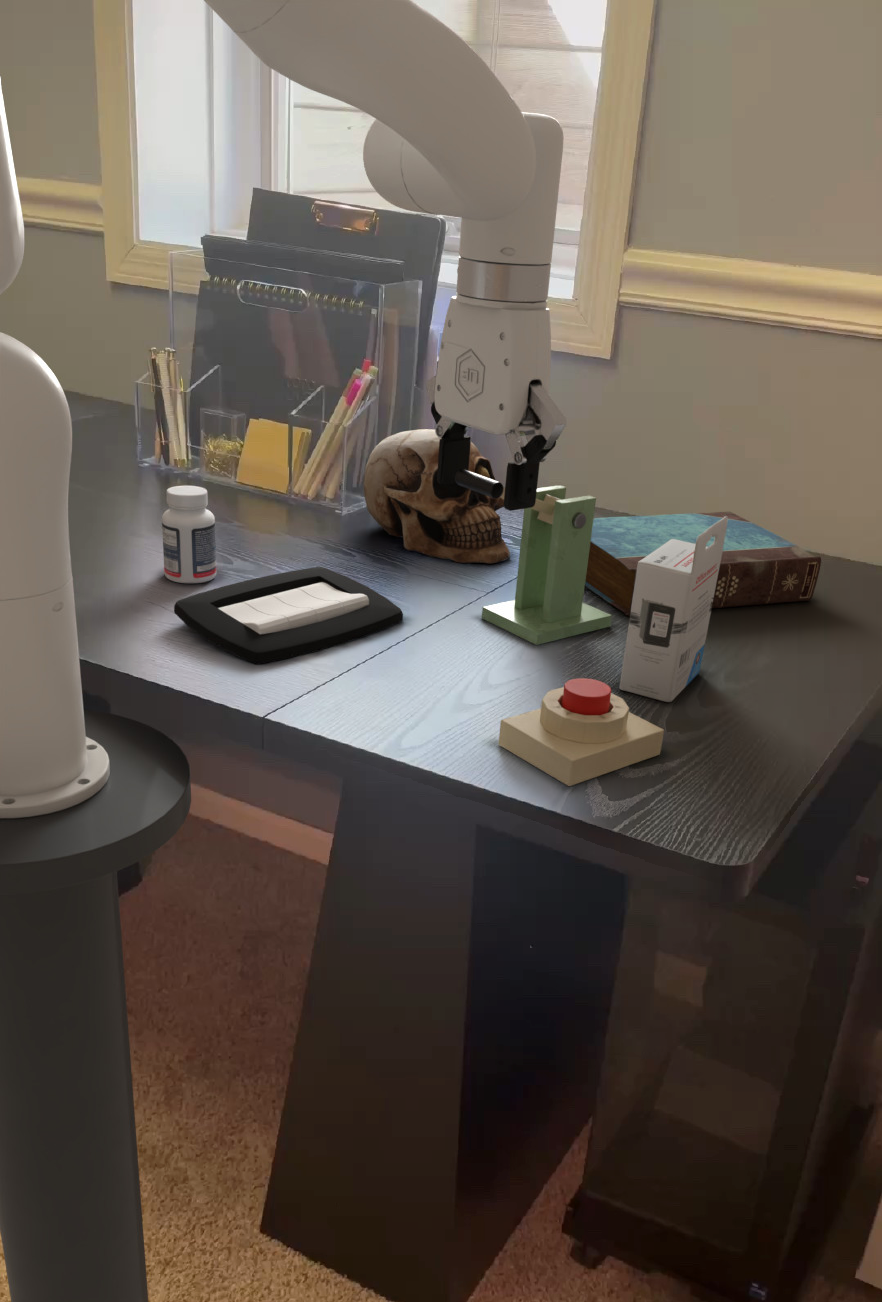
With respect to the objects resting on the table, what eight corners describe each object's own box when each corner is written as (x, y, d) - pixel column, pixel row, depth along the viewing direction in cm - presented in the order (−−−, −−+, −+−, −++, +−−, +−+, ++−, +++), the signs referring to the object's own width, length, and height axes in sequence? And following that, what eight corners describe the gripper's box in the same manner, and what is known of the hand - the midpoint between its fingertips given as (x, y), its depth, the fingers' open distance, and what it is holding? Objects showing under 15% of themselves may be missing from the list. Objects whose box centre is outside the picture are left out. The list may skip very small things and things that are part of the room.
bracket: (536, 645, 112) (551, 511, 106) (481, 618, 118) (492, 489, 112) (610, 626, 118) (628, 498, 112) (554, 601, 123) (569, 478, 117)
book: (628, 617, 121) (636, 570, 118) (551, 562, 135) (556, 519, 132) (812, 602, 129) (822, 557, 126) (721, 551, 143) (728, 510, 141)
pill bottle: (219, 569, 125) (217, 484, 121) (213, 585, 121) (211, 498, 117) (167, 566, 125) (164, 482, 121) (160, 583, 120) (156, 496, 116)
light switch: (255, 650, 102) (159, 590, 109) (253, 680, 103) (159, 619, 111) (418, 603, 115) (323, 552, 122) (414, 630, 116) (320, 578, 124)
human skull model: (508, 565, 132) (507, 441, 126) (354, 567, 134) (345, 444, 128) (514, 531, 146) (513, 418, 140) (374, 532, 148) (367, 421, 142)
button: (584, 722, 90) (587, 700, 89) (552, 704, 92) (554, 683, 91) (618, 711, 92) (621, 690, 91) (585, 694, 94) (588, 674, 93)
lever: (487, 502, 103) (496, 475, 102) (450, 487, 106) (460, 461, 106) (581, 535, 112) (591, 510, 112) (545, 521, 116) (554, 497, 115)
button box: (568, 787, 88) (575, 738, 86) (497, 744, 93) (502, 698, 91) (660, 754, 94) (668, 708, 92) (588, 716, 99) (594, 672, 97)
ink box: (650, 660, 111) (676, 503, 104) (701, 673, 109) (731, 514, 102) (616, 690, 104) (641, 524, 97) (669, 704, 102) (699, 536, 95)
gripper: (402, 271, 101) (392, 476, 110) (541, 300, 90) (518, 526, 98) (470, 271, 106) (455, 468, 114) (611, 298, 94) (583, 515, 102)
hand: (484, 494), depth 106 cm, fingers open, 8 cm apart
